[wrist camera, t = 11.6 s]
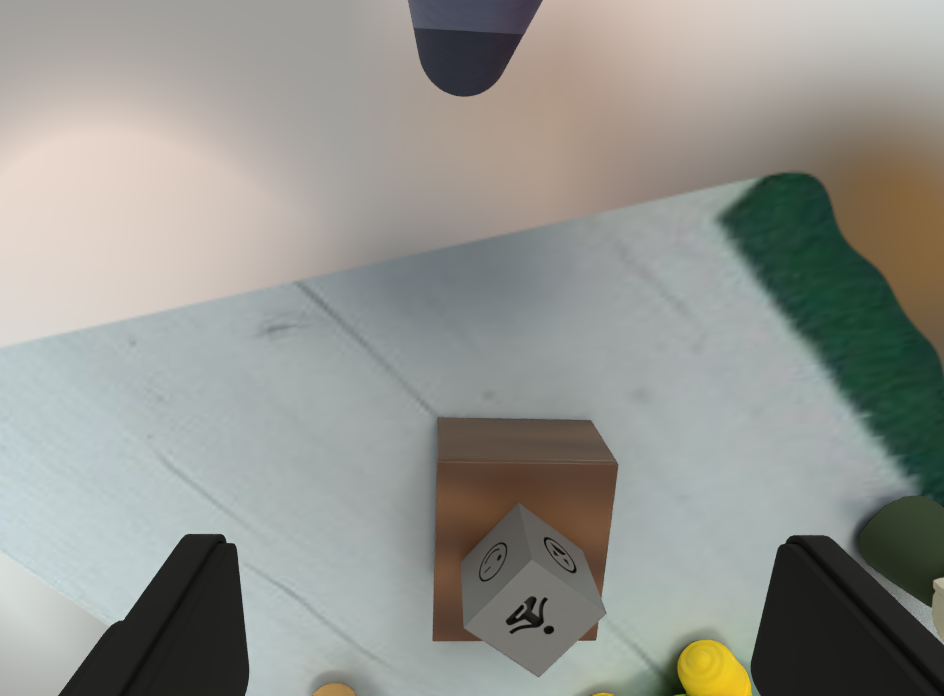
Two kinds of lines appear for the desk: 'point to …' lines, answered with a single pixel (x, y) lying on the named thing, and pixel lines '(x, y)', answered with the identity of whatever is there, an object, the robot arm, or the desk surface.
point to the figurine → (334, 690)
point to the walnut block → (516, 496)
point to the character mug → (910, 550)
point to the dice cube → (528, 591)
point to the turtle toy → (710, 671)
